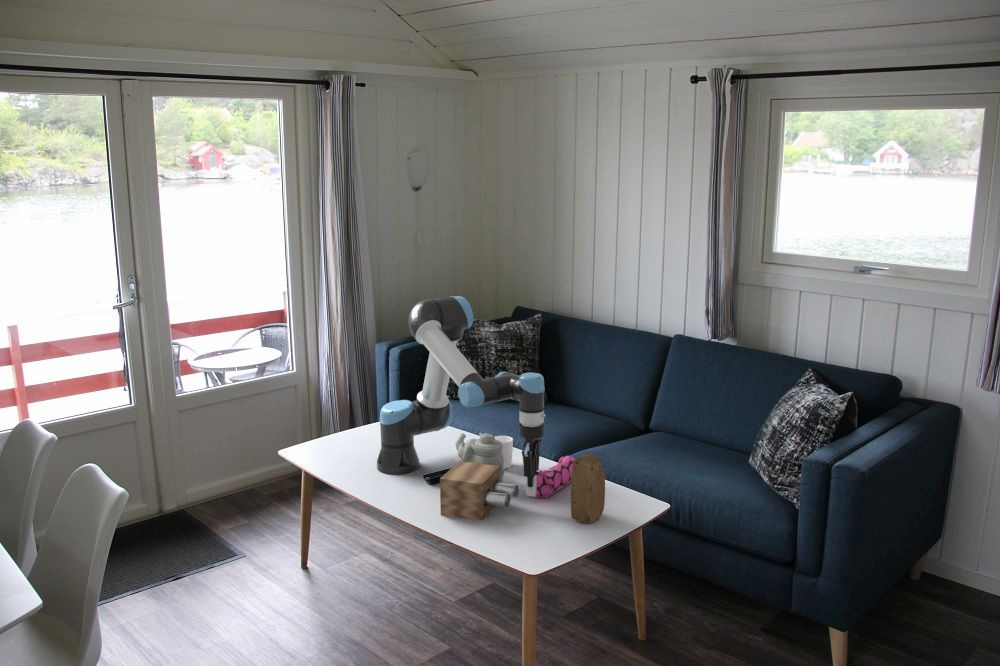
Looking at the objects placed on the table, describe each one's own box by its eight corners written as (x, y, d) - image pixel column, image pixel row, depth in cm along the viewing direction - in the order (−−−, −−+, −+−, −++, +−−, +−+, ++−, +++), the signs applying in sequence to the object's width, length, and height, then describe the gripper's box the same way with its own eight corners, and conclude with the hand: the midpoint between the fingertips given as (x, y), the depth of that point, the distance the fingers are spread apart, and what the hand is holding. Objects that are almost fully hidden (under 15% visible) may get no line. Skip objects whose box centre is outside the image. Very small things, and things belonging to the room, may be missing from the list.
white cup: (513, 462, 314) (513, 435, 312) (512, 469, 306) (512, 443, 304) (492, 461, 314) (492, 435, 312) (490, 469, 307) (489, 442, 305)
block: (588, 527, 259) (589, 464, 255) (567, 520, 264) (568, 458, 260) (608, 515, 268) (609, 454, 263) (588, 509, 272) (589, 449, 268)
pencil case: (553, 503, 277) (553, 474, 275) (527, 497, 282) (527, 468, 280) (582, 481, 295) (583, 454, 293) (557, 476, 300) (557, 449, 298)
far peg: (473, 493, 275) (473, 482, 274) (477, 489, 278) (477, 477, 278) (514, 498, 270) (514, 487, 270) (518, 494, 274) (518, 483, 273)
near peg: (463, 502, 268) (463, 491, 267) (468, 498, 271) (468, 486, 270) (506, 508, 263) (506, 497, 262) (510, 504, 266) (510, 492, 266)
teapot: (455, 476, 301) (454, 424, 297) (498, 473, 303) (498, 421, 299) (461, 494, 285) (460, 439, 281) (506, 490, 287) (506, 437, 283)
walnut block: (440, 514, 269) (439, 478, 266) (459, 495, 283) (459, 461, 281) (482, 520, 264) (482, 484, 262) (500, 501, 279) (499, 466, 276)
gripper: (537, 430, 258) (536, 504, 263) (549, 418, 270) (548, 489, 275) (513, 428, 261) (513, 501, 265) (526, 415, 273) (526, 486, 278)
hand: (531, 495), depth 270 cm, fingers closed
